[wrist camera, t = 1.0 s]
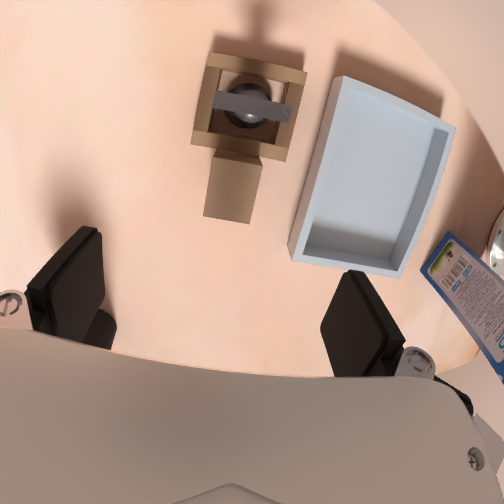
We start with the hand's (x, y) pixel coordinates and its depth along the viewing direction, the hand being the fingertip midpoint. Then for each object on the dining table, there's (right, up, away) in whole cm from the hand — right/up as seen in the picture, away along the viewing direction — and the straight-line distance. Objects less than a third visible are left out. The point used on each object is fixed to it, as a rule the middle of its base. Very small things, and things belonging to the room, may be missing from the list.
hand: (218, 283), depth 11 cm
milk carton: (+28, -1, +22) cm, 35 cm away
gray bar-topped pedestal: (+1, +14, +12) cm, 19 cm away
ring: (0, +12, +13) cm, 18 cm away
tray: (+13, +8, +16) cm, 22 cm away
